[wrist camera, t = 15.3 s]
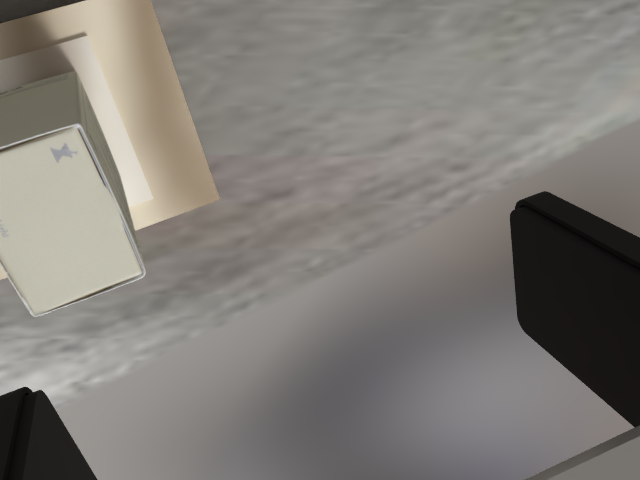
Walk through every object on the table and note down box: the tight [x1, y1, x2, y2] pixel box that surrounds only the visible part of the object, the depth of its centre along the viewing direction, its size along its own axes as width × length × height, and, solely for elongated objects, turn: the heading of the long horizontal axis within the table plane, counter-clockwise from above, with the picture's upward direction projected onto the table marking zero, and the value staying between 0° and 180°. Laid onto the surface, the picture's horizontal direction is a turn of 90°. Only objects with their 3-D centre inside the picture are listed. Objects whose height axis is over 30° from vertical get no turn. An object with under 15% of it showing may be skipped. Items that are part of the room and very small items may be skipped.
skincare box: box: [0, 71, 146, 317], centre depth 25 cm, size 6×4×12 cm
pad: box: [0, 0, 220, 280], centre depth 31 cm, size 14×12×1 cm
